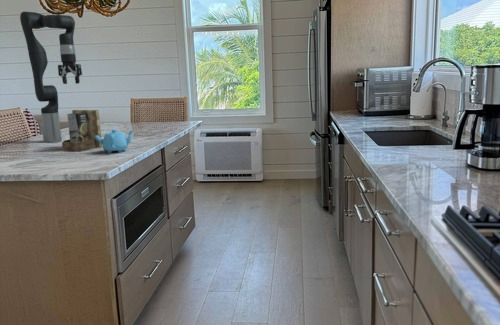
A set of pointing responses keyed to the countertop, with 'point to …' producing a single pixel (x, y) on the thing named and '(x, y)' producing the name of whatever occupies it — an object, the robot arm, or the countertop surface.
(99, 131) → the wall board
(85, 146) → the brown open box
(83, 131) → the coffee box
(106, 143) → the teapot
